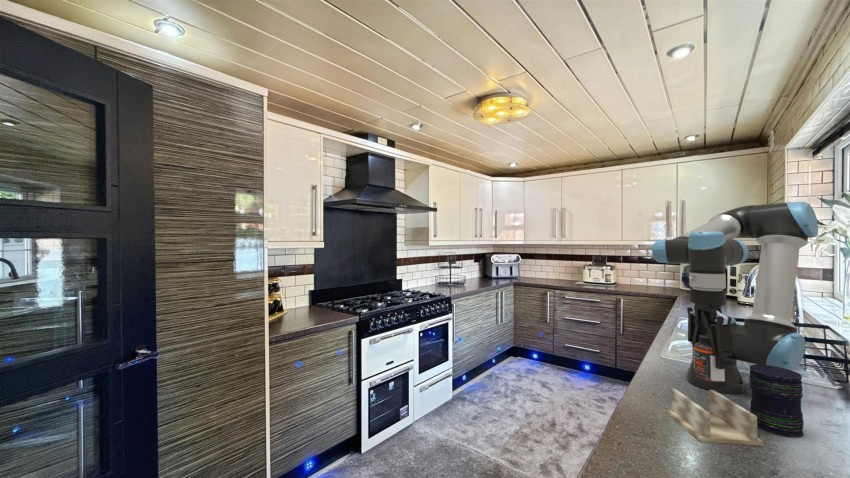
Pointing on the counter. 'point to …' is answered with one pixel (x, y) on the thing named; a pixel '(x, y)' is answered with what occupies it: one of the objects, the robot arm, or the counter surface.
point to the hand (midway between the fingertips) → (708, 375)
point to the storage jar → (777, 400)
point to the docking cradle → (715, 419)
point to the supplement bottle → (703, 358)
